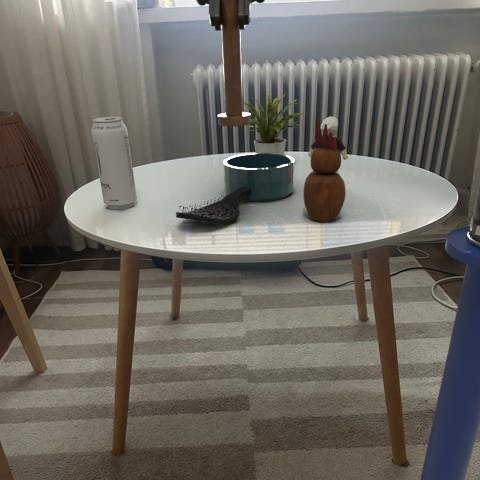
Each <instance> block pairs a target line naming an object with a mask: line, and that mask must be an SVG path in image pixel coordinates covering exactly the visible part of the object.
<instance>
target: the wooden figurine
mask: <svg viewBox="0 0 480 480" xmlns="http://www.w3.org/2000/svg"><path fill="white" fill-rule="evenodd" d="M332 137H333V136H332V132H330V133H329V136H328V131H327V124H325V126H324V131H322V130H321V123H320V120H319V119H317V120H316V126H315V141H314V142H315V149H314V150H313V152H312V154H311V157H310V168H311V169H312V171H310V172H309V174H308V175H307V176H306V177H305V180H304V183H303V192H302V193H303V194H302V195H303V203H304V206H305V210H306V212H307V215H308V216H309V218H310V219H311V220H314V221H317V222H332V221H335V219H337V218H338V216H339V215H340V213H341V211H342V209H343V207H344V204H345V200H346V185H345V184H346V183H345V181H344V179H343V178H342V176H341V175H340V174H339V170H340V168H341V166H342V154H341V152H340V151H339V150H338V149H337V141H336V138H337V137H336V138H333V140H332ZM337 171H338V173H336V172H337Z"/></svg>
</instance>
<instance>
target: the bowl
mask: <svg viewBox="0 0 480 480" xmlns="http://www.w3.org/2000/svg"><path fill="white" fill-rule="evenodd" d="M222 163H223V164H222V165H223V185H224V187H223V188H224V192H225V194H227V195H228V194H230V193H231V192H233V191H235V190H237V189H239V188H242V189H251V194H249V195H246V196H244V197H242V198H240V200H239V201H243V202H253V203H254V202H255V203H256V202H258V203H259V202H260V203H263V202H271V201H272V202H273V201H277V200H281V199H284V198H287V197H288V196H289V195H290V194H292V193H293V192H294V189H295V159H294V158H293V157H292V156H289V155H286V154H284V155H281V154H272V153H256V152H255V153H254V152H253V153H244V154H238V155H233V156H230V157H228V158H225V159H224V160H223V162H222Z"/></svg>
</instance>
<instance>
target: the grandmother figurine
mask: <svg viewBox="0 0 480 480" xmlns="http://www.w3.org/2000/svg"><path fill="white" fill-rule="evenodd" d="M325 124H327V131H328V136H329V133H330V132H332V140H333V138H336V141H337V149H338V150H339V152H340V154H341V158H342V160H344V161H346V160H348V159H349V155H348V152H347V148H346V146H345V145H344V143H343V141H342V140H341V139H340V138H339V137H336V136H335V135H336V133H337V132H338V131H337V130H338V127H339V120H338V118H337V117H335V116H331V115H330V116H328V117H326V118H325V119H323V121H322V123H320V128H321V132H323V131H324V126H325ZM314 149H315V141H314V142H312V144H311V145H310V148H309V151H308V152H307V155H308V157H309V158H311V154H312V152H313V150H314ZM336 173H338V174H339V170H338V171H337V172H336Z"/></svg>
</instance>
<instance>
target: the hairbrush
mask: <svg viewBox="0 0 480 480" xmlns="http://www.w3.org/2000/svg"><path fill="white" fill-rule="evenodd" d="M249 194H251V189H242V188H239V189H237V190H235V191H233V192H231V193H230V194H227V195H226V196H223V195H222V194H221V196H219V197H218V198H217V197H214V199H212V198H211V199H210V203H209V201H203V204H200V205H196V203H195V204H194V205H193V204H192V205H189V207H188V206H182V205H179V210H181V211H182V212H180V211H176V212H175V218H176V219H183V220H189V221H195V222H200V223H205V224H206V223H207V224H213V225H222V226H225V225H227V224H231V223H233V222H236V221H237V220H238V218H239V216H240V201H241V200H240V198H242V197H244V196H246V195H249ZM221 197H222V198H221ZM220 198H221V199H220ZM216 199H217V201H216ZM198 207H199V208H198ZM189 208H190V209H189Z"/></svg>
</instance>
